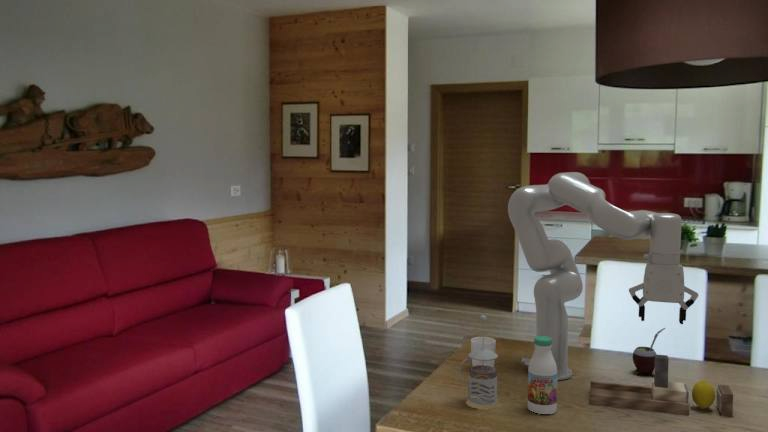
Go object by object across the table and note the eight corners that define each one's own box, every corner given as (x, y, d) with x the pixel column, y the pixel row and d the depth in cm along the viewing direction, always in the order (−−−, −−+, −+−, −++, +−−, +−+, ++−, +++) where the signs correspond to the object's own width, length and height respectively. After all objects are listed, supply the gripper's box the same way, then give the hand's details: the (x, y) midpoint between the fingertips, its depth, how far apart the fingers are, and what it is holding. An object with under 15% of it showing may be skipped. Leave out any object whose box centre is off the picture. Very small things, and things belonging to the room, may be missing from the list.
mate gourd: (627, 372, 203) (628, 326, 202) (643, 368, 207) (645, 322, 206) (647, 379, 197) (649, 331, 196) (664, 374, 201) (665, 327, 200)
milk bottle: (525, 404, 179) (525, 333, 177) (553, 404, 178) (554, 333, 177) (530, 415, 171) (531, 342, 169) (560, 415, 171) (561, 341, 169)
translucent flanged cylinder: (477, 365, 212) (478, 335, 212) (499, 369, 208) (500, 339, 207) (466, 371, 206) (466, 341, 205) (488, 376, 202) (488, 345, 201)
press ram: (653, 403, 175) (654, 359, 174) (651, 393, 181) (652, 352, 180) (688, 406, 172) (689, 362, 171) (685, 397, 178) (686, 355, 177)
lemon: (717, 413, 171) (718, 384, 170) (694, 412, 172) (695, 383, 171) (711, 405, 176) (712, 377, 175) (689, 404, 177) (690, 376, 177)
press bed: (589, 404, 178) (589, 394, 178) (590, 390, 189) (590, 381, 188) (689, 415, 170) (689, 404, 170) (684, 400, 180) (684, 390, 180)
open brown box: (719, 415, 170) (720, 393, 169) (715, 405, 176) (716, 384, 176) (732, 417, 169) (733, 394, 168) (727, 407, 175) (728, 385, 175)
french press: (498, 411, 174) (499, 320, 172) (455, 407, 177) (455, 318, 175) (502, 398, 183) (503, 312, 181) (462, 394, 187) (462, 309, 184)
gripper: (630, 259, 173) (628, 322, 175) (701, 263, 167) (698, 327, 169) (629, 255, 180) (627, 315, 182) (698, 258, 174) (694, 320, 176)
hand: (661, 321), depth 175 cm, fingers open, 9 cm apart
